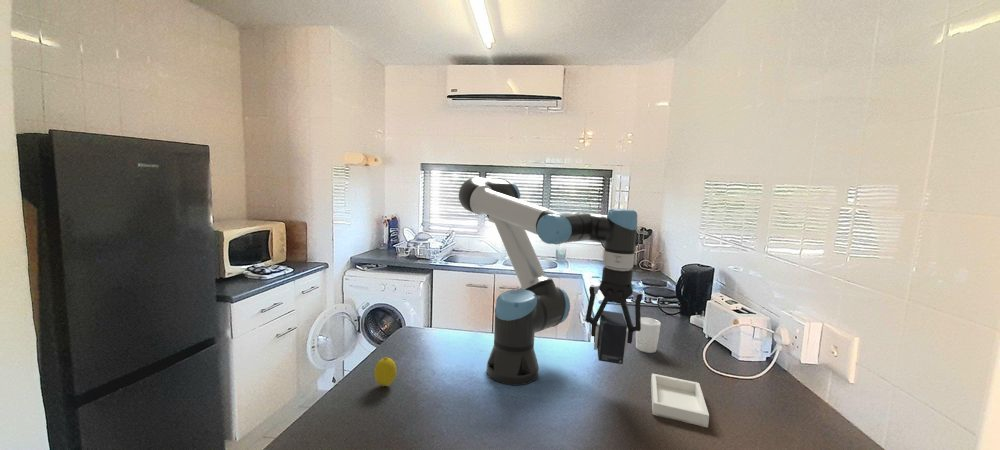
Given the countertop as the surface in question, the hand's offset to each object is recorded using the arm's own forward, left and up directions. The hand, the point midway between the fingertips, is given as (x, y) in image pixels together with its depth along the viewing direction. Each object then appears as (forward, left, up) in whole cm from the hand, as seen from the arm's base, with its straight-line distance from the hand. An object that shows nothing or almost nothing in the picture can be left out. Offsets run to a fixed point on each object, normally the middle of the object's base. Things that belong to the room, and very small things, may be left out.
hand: (609, 350), depth 100 cm
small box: (0, 0, -1) cm, 1 cm away
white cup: (+10, +34, -11) cm, 37 cm away
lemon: (-55, -24, -11) cm, 61 cm away
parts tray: (+17, +1, -11) cm, 21 cm away
